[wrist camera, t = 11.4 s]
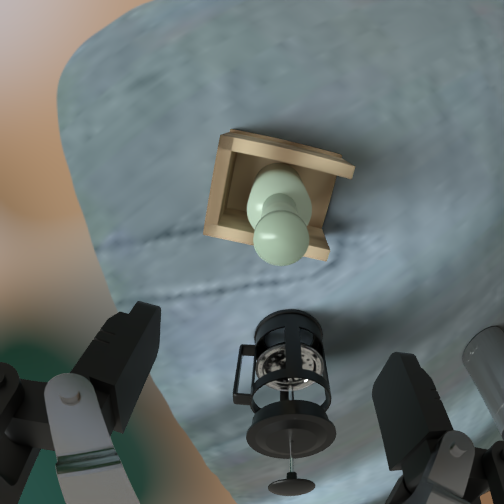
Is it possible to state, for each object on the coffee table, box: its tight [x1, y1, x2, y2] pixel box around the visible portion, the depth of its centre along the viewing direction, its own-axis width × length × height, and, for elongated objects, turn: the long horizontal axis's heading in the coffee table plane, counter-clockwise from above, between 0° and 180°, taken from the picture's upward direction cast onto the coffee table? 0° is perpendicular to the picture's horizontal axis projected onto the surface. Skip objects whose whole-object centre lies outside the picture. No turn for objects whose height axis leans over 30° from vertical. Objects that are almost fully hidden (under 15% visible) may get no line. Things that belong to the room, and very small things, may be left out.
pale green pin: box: [247, 163, 312, 266], centre depth 26 cm, size 5×5×16 cm
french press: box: [233, 310, 336, 496], centre depth 32 cm, size 12×9×23 cm
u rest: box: [203, 129, 355, 261], centre depth 31 cm, size 12×10×7 cm
